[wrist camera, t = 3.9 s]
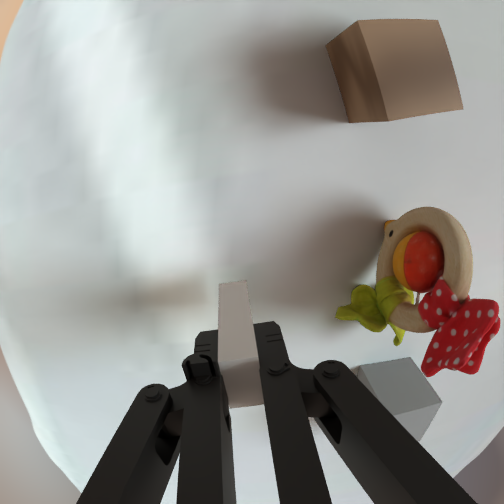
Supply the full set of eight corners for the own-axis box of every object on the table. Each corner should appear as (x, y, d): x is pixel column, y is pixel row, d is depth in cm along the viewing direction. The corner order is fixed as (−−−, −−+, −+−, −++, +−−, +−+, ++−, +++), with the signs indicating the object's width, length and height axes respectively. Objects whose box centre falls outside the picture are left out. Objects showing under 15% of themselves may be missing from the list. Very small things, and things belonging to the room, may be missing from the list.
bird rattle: (337, 212, 21) (324, 345, 21) (446, 167, 10) (424, 405, 10) (409, 226, 22) (398, 345, 21) (525, 201, 11) (509, 383, 10)
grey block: (360, 364, 24) (387, 417, 18) (410, 356, 24) (442, 401, 18) (348, 405, 25) (368, 455, 20) (394, 396, 26) (420, 440, 20)
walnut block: (325, 45, 15) (357, 20, 11) (394, 39, 15) (437, 20, 10) (348, 123, 17) (388, 121, 12) (414, 110, 17) (463, 109, 12)
